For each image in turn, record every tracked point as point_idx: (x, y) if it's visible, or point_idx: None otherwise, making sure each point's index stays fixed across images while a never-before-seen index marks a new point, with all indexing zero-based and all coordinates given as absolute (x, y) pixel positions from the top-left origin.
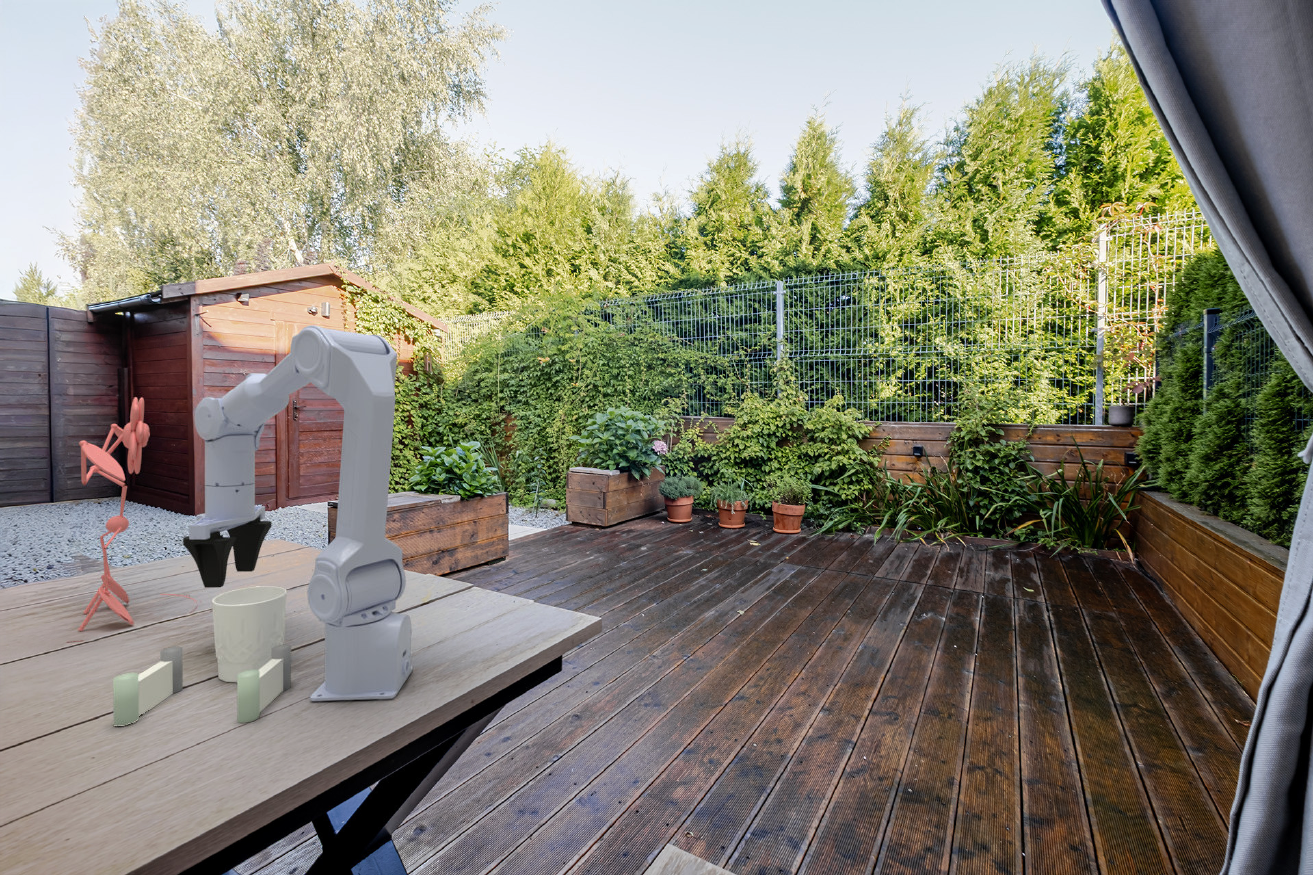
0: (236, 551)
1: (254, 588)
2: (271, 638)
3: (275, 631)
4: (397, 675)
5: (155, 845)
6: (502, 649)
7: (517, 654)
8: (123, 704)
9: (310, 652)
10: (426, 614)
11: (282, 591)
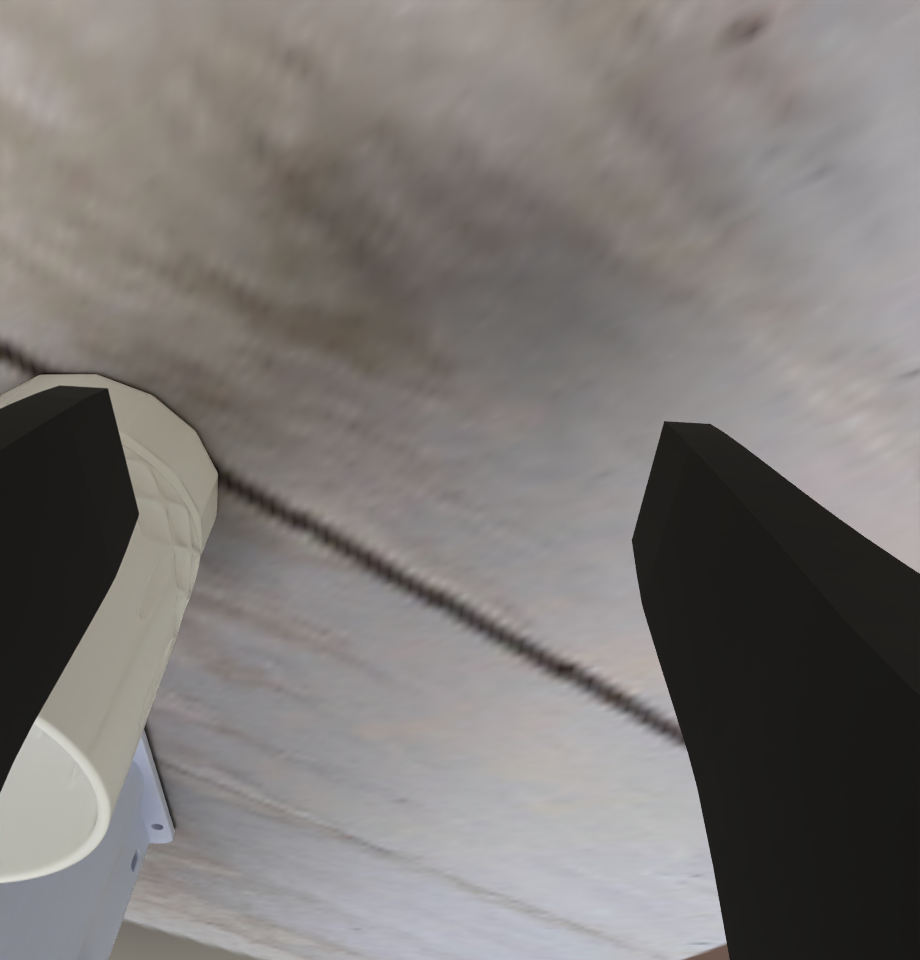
0: (761, 573)
1: (67, 738)
2: None
3: None
4: None
5: None
6: (322, 936)
7: (291, 952)
8: None
9: (302, 598)
10: (648, 805)
11: (71, 842)
